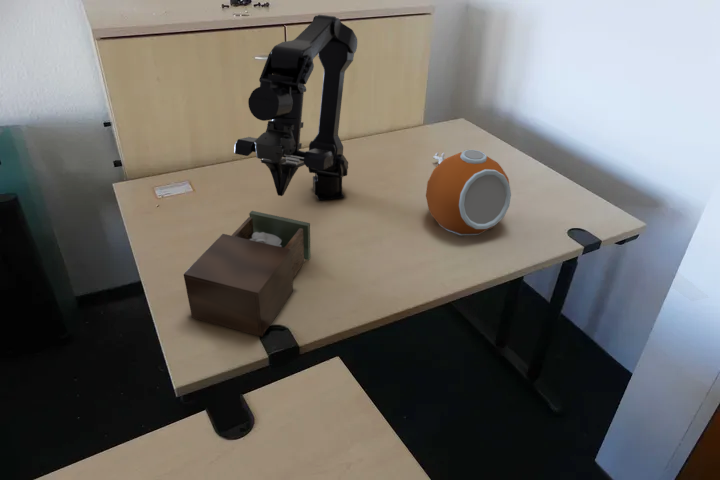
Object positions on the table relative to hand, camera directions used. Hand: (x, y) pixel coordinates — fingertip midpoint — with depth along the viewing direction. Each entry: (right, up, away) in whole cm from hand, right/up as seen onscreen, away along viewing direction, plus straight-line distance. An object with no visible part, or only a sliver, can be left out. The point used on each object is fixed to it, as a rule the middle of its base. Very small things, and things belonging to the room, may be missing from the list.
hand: (280, 195), depth 108 cm
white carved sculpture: (-3, -13, +2) cm, 14 cm away
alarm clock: (+40, -5, +21) cm, 46 cm away
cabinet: (-6, -21, -6) cm, 23 cm away
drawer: (-2, -13, +4) cm, 14 cm away
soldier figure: (+39, +10, +41) cm, 58 cm away
